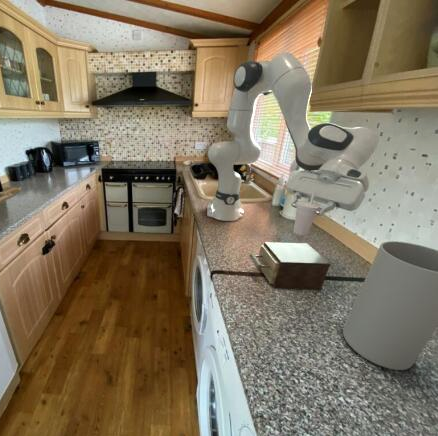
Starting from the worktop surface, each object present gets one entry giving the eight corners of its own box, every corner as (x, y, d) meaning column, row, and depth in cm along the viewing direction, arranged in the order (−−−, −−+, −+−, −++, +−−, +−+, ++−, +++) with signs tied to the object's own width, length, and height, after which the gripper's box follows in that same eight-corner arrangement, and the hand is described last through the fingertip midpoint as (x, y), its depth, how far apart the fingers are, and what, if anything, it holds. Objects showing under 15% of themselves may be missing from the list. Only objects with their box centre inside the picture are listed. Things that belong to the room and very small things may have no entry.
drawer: (256, 283, 77) (261, 262, 74) (244, 263, 88) (248, 244, 85) (313, 285, 77) (320, 264, 74) (294, 265, 87) (300, 246, 84)
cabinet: (274, 287, 77) (281, 262, 73) (259, 265, 89) (264, 242, 85) (321, 289, 77) (330, 263, 73) (299, 266, 88) (306, 243, 84)
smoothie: (315, 238, 73) (329, 194, 68) (292, 236, 74) (304, 192, 69) (307, 229, 79) (319, 187, 73) (286, 227, 80) (296, 186, 74)
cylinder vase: (329, 327, 63) (364, 242, 53) (373, 324, 64) (415, 240, 54) (375, 374, 51) (431, 277, 41) (427, 369, 52) (494, 274, 43)
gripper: (298, 162, 80) (272, 194, 80) (373, 175, 63) (340, 216, 63) (303, 174, 84) (278, 205, 83) (375, 190, 67) (344, 228, 67)
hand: (305, 210), depth 73 cm, fingers closed on smoothie, 6 cm apart
